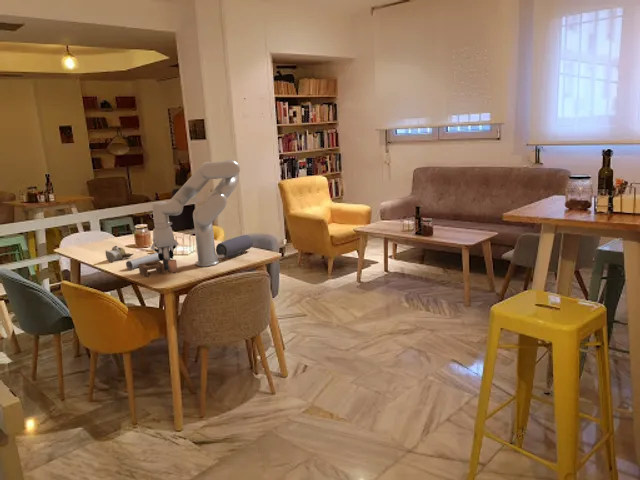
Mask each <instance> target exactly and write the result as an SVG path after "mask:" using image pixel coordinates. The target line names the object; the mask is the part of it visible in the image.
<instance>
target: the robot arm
mask: <svg viewBox="0 0 640 480" xmlns="http://www.w3.org/2000/svg"><path fill="white" fill-rule="evenodd" d="M240 171H241V167H240V164H239V163H238V162H237V161H236V160H233V159H225V160H223V161H215V162H211V161H205V162H202V164H200V165H199V167H197V169H196V170H195V171H194V172H193V173H192V175H191V176H190V177H189V178H188V179H187V181H186V182H185V183H184V184H183V185H182V186H181V187H180V188H179V189H178V190H177V192H176V193H175V194H174V195H173V196H172V197H171V198H170V200H169V201H168V202H166V201H154V202H153V203H152V204H151V205H152V206H151V207H152V215H153V223H154V228H153V229H152V231H153V232H152V241H153V242H152V244H151V246H150V249H151V250H153V251H154V252H155V253H158V258H159V259H160V262H163V258H162V253H161V248H163V247H169V252H170V260H174V257H175V256H174V251H175V250H176V249H177V248H176V247H177V246H178V245H179V242H178V241H177V240H176V239H175V236H174V232H173V228H172V227H171V225H173V222H172V221H170V217H169V216H179V215H181V214H182V213H183V210H184V206H185V205H186V204H187V203H188V202H189V201H190V200H191V199H192V198H193V197H195V196H196V195H198V194H199V193H201V191H202V190H203V189H204V187H206V186H207V184H208V183H209V182H210V181H211V180H217V179H218V180H219V179H220V182H218V183H217V184H216V186H215V187H214V188H213V189H212V190H211V191H210V193H208V195H207V197H206V201H205V202H204V203H203V204H202V205H198V206H197V207H195V208H194V210H193V212H192V219H193V226H194V233H195V235H194V236H195V243H196V244H195V245H196V253H197V261H195V266H196V267H212V266H215V265H216V266H217V264H219V263H220V260H219V259H224V254H221V255H220V254H218V255H217V253H216V246H215V237H214V226H213V222H214V221H215V220H216V219H217V218H218V217H219V215H221V214H222V212H223V211H224V210H225V208H226V206H227V203H228V199H229V197H230V196H231V195H232V193H233V192H234V191H235V190H236V188H237V186H238V184H239V180H240Z"/></svg>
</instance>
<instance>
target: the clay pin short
mask: <svg viewBox="0 0 640 480" xmlns="http://www.w3.org/2000/svg"><path fill="white" fill-rule="evenodd" d="M168 264H169V270H168V271H169V273H170V274H174V273H173V272H175V273H177V272H178V263H177V259H170V260H169V261H168Z"/></svg>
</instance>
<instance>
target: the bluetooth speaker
mask: <svg viewBox="0 0 640 480" xmlns="http://www.w3.org/2000/svg"><path fill="white" fill-rule="evenodd" d="M253 245H254V242H253V239H252V237H251V235H249V234H244V235H240V236H236V237H233V238H230V239H227V240H224V241H222V242H219V243H218V244H217V245H216V246H215V254H217V255H218V254H220V255H221V254H224V258H234V257H237V256H239V255H242V254H243V252H245V251H247V250H250V249H251V248H252V247H253ZM224 258H223V259H224Z"/></svg>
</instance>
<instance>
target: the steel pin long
mask: <svg viewBox="0 0 640 480" xmlns="http://www.w3.org/2000/svg"><path fill="white" fill-rule="evenodd" d="M169 251H170V249H169V247H163V248H161V252H162V258H163V260H162V263H163V264H164V270H165V271H169V264H168V261H169V260H171V258H170V252H169Z"/></svg>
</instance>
